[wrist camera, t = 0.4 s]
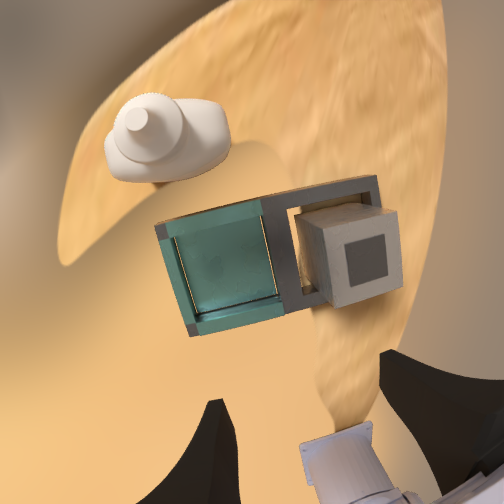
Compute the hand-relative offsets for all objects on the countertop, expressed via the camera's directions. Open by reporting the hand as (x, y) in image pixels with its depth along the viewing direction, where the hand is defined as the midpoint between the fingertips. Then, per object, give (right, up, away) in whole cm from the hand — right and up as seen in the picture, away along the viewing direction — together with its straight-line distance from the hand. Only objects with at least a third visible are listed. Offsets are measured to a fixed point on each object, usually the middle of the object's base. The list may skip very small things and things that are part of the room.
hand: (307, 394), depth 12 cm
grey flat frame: (0, +6, +9) cm, 11 cm away
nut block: (+3, +7, +9) cm, 12 cm away
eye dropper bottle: (-7, +13, +7) cm, 16 cm away
